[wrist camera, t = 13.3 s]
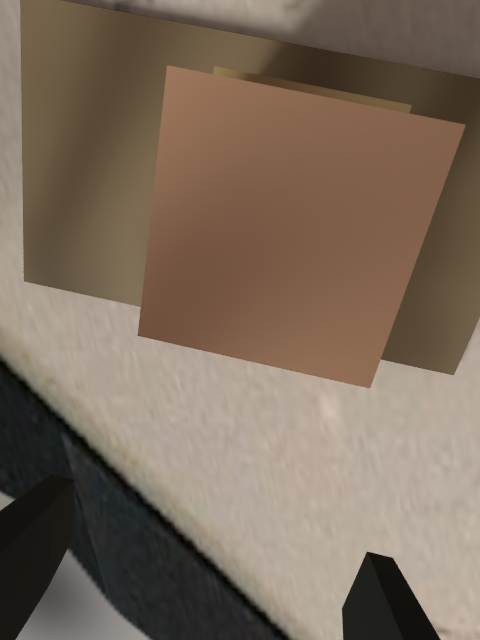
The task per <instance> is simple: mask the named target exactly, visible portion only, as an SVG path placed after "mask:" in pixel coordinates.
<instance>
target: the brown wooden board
mask: <svg viewBox="0 0 480 640" xmlns="http://www.w3.org/2000/svg"><path fill="white" fill-rule="evenodd" d="M20 5H21V84H22V163H23V242H24V281H25V282H30V283H34V284H39V285H43V286H48V287H53V288H57V289H62V290H66V291H71V292H75V293H80V294H85V295H89V296H94V297H98V298H103V299H107V300H112V301H117V302H121V303H126V304H130V305H135V306H139V307H141V301H142V292H143V283H144V273H145V264H146V255H147V246H148V237H149V227H150V218H151V209H152V200H153V190H154V181H155V172H156V163H157V153H158V144H159V135H160V126H161V116H162V107H163V98H164V89H165V80H166V70H167V65H169V66H174V67H179V68H184V69H189V70H194V71H199V72H204V73H209V74H213V71H214V66H217V67H222V68H227V69H232V70H237V71H242V72H247V73H252V74H257V75H262V76H267V77H272V78H277V79H282V80H287V81H292V82H298V83H303V84H308V85H313V86H318V87H323V88H328V89H333V90H338V91H343V92H348V93H353V94H358V95H363V96H368V97H373V98H378V99H383V100H388V101H393V102H398V103H403V104H409V105H412V106H411V110H410V113H409V114H414V115H419V116H424V117H429V118H434V119H439V120H444V121H449V122H454V123H459V124H464V125H466V126H465V129H464V131H463V134H462V137H461V140H460V142H459V145H458V148H457V151H456V153H455V156H454V159H453V162H452V164H451V167H450V170H449V173H448V175H447V178H446V181H445V184H444V186H443V189H442V192H441V195H440V197H439V200H438V203H437V205H436V208H435V211H434V214H433V216H432V219H431V222H430V225H429V227H428V230H427V233H426V236H425V238H424V241H423V244H422V247H421V249H420V252H419V255H418V258H417V260H416V263H415V266H414V269H413V271H412V274H411V277H410V280H409V282H408V285H407V288H406V291H405V293H404V296H403V299H402V302H401V304H400V307H399V310H398V313H397V315H396V318H395V321H394V324H393V326H392V329H391V332H390V335H389V337H388V340H387V343H386V346H385V348H384V351H383V354H382V357H381V359H382V360H386V361H391V362H395V363H400V364H404V365H409V366H414V367H418V368H423V369H427V370H432V371H436V372H441V373H446V374H450V375H454V374H455V371H456V369H457V367H458V365H459V362H460V360H461V358H462V356H463V353H464V351H465V349H466V346H467V344H468V342H469V340H470V337H471V335H472V333H473V331H474V328H475V326H476V324H477V321H478V319H479V317H480V79H477V78H472V77H466V76H461V75H456V74H450V73H445V72H440V71H434V70H429V69H424V68H418V67H413V66H408V65H402V64H397V63H392V62H387V61H381V60H376V59H371V58H365V57H360V56H355V55H349V54H344V53H339V52H333V51H328V50H323V49H317V48H312V47H307V46H301V45H296V44H291V43H285V42H280V41H275V40H270V39H264V38H259V37H254V36H248V35H243V34H238V33H232V32H227V31H222V30H216V29H211V28H206V27H200V26H195V25H190V24H184V23H179V22H174V21H168V20H163V19H158V18H153V17H147V16H142V15H137V14H131V13H126V12H121V11H115V10H110V9H105V8H99V7H94V6H89V5H83V4H78V3H73V2H67V1H62V0H20Z"/></svg>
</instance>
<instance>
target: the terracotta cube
mask: <svg viewBox="0 0 480 640" xmlns="http://www.w3.org/2000/svg"><path fill="white" fill-rule="evenodd" d="M465 126H466V125H464V124H459V123H454V122H449V121H444V120H439V119H434V118H429V117H424V116H419V115H414V114H409V113H404V112H399V111H394V110H389V109H384V108H379V107H374V106H369V105H364V104H359V103H354V102H349V101H344V100H339V99H334V98H329V97H324V96H319V95H314V94H309V93H304V92H299V91H294V90H289V89H284V88H279V87H274V86H269V85H264V84H259V83H254V82H249V81H244V80H239V79H234V78H229V77H224V76H219V75H214V74H209V73H204V72H199V71H194V70H189V69H184V68H179V67H174V66H169V65H167V70H166V80H165V89H164V98H163V107H162V116H161V126H160V135H159V144H158V153H157V163H156V172H155V181H154V190H153V200H152V209H151V218H150V227H149V237H148V246H147V255H146V264H145V273H144V283H143V292H142V301H141V310H140V320H139V329H138V336H142V337H146V338H150V339H155V340H159V341H164V342H168V343H172V344H177V345H181V346H186V347H190V348H194V349H199V350H203V351H208V352H212V353H216V354H221V355H225V356H230V357H234V358H238V359H243V360H247V361H252V362H256V363H260V364H265V365H269V366H274V367H278V368H282V369H287V370H291V371H296V372H300V373H304V374H309V375H313V376H318V377H322V378H326V379H331V380H335V381H340V382H344V383H348V384H353V385H357V386H362V387H366V388H370V387H371V384H372V381H373V379H374V376H375V373H376V370H377V368H378V365H379V362H380V359H381V357H382V354H383V351H384V348H385V346H386V343H387V340H388V337H389V335H390V332H391V329H392V326H393V324H394V321H395V318H396V315H397V313H398V310H399V307H400V304H401V302H402V299H403V296H404V293H405V291H406V288H407V285H408V282H409V280H410V277H411V274H412V271H413V269H414V266H415V263H416V260H417V258H418V255H419V252H420V249H421V247H422V244H423V241H424V238H425V236H426V233H427V230H428V227H429V225H430V222H431V219H432V216H433V214H434V211H435V208H436V205H437V203H438V200H439V197H440V195H441V192H442V189H443V186H444V184H445V181H446V178H447V175H448V173H449V170H450V167H451V164H452V162H453V159H454V156H455V153H456V151H457V148H458V145H459V142H460V140H461V137H462V134H463V131H464V129H465Z"/></svg>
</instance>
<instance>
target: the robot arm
mask: <svg viewBox="0 0 480 640" xmlns="http://www.w3.org/2000/svg"><path fill="white" fill-rule="evenodd" d="M74 482H75V480H73V479H68V478H64V477H60V476H56V475H52V474H50V475H48V476H47V477H45V478H44V479H43V480H41V481H40V482H38V483H37V484H36V485H34V486H33V487H32V488H30V489H29V490H28V491H26V492H25V493H24V494H22V495H21V496H20V497H18V498H17V499H16V500H14V501H13V502H12V503H10V504H9V505H8V506H6V507H5V508H4V509H2V510H1V511H0V640H15V639H16V638H17V636H18V634H19V633H20V631H21V630H22V628H23V627H24V625H25V623H26V622H27V620H28V619H29V617H30V615H31V614H32V612H33V611H34V609H35V607H36V606H37V604H38V602H39V601H40V599H41V598H42V596H43V594H44V593H45V591H46V590H47V588H48V586H49V584H50V582H51V580H52V578H53V576H54V574H55V573H56V571H57V569H58V567H59V565H60V563H61V561H62V559H63V556H64V555H65V552H66V550H67V548H68V546H69V544H70V542H71V538H72V520H73V501H74ZM342 617H343V640H440V638H439V636H438V635H437V633H436V631H435V629H434V628H433V626H432V624H431V623H430V621H429V619H428V618H427V616H426V614H425V612H424V611H423V609H422V607H421V606H420V604H419V602H418V600H417V599H416V597H415V595H414V593H413V592H412V590H411V588H410V586H409V585H408V583H407V581H406V580H405V578H404V576H403V574H402V573H401V571H400V569H399V568H398V566H397V564H396V562H395V561H394V559H393V558H391V557H387V556H383V555H379V554H375V553H370V552H367V553H366V555H365V558H364V560H363V562H362V565H361V567H360V569H359V571H358V574H357V576H356V578H355V580H354V583H353V585H352V587H351V590H350V592H349V594H348V596H347V599H346V601H345V603H344V605H343V608H342Z"/></svg>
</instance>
